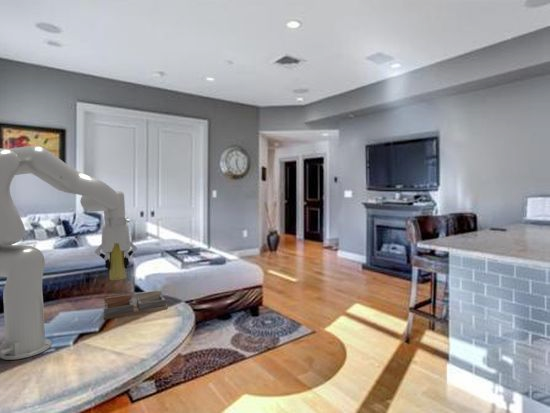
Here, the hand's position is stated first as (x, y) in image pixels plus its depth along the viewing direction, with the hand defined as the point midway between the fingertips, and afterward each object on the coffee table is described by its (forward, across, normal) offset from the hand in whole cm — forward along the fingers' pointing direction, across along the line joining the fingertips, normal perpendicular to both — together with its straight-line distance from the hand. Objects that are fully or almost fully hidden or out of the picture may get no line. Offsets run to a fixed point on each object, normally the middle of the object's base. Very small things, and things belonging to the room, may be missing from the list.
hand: (117, 268), depth 138 cm
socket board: (+18, -6, 0) cm, 19 cm away
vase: (+4, 0, 0) cm, 4 cm away
